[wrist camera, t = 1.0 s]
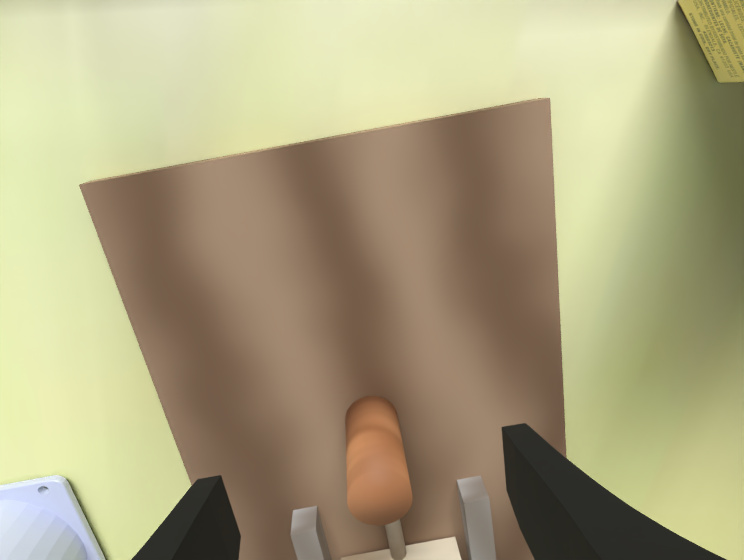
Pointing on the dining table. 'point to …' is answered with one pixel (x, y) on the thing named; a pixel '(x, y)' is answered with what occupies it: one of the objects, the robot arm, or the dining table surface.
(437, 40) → the dining table surface
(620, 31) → the dining table surface
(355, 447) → the joystick
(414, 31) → the dining table surface
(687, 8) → the candy box
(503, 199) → the thin wooden panel
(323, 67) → the dining table surface
